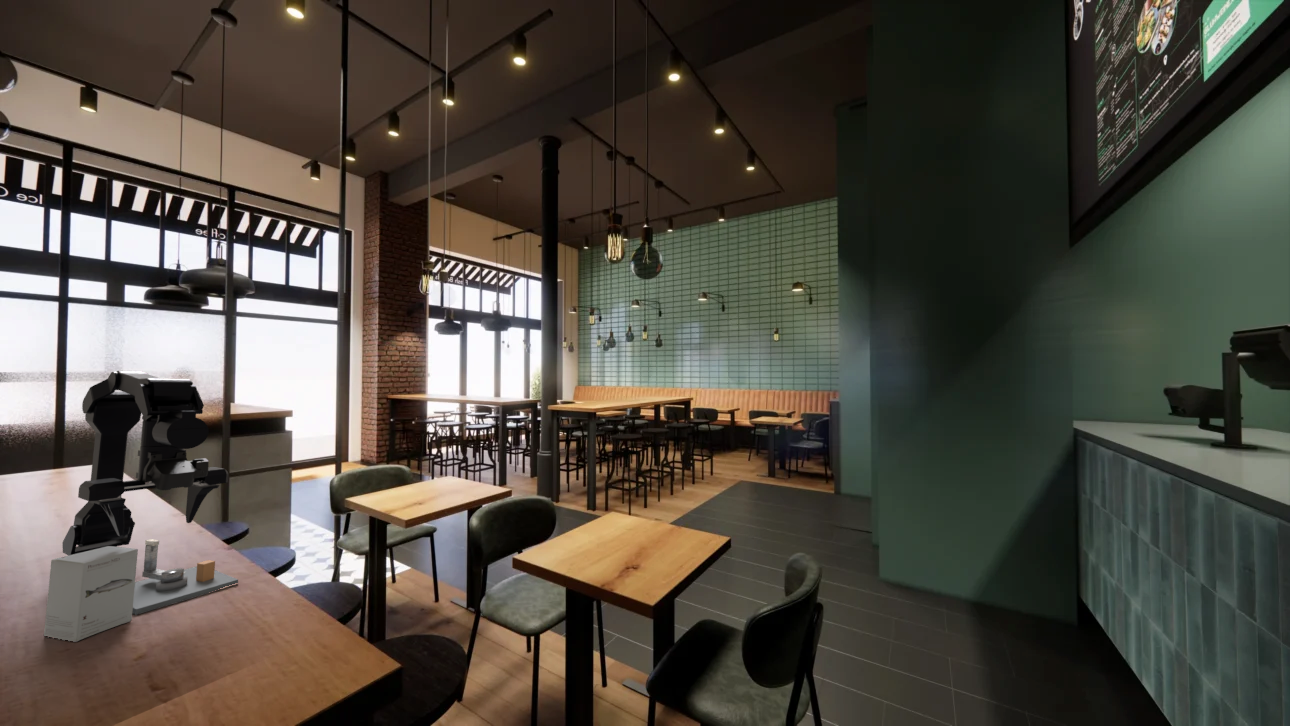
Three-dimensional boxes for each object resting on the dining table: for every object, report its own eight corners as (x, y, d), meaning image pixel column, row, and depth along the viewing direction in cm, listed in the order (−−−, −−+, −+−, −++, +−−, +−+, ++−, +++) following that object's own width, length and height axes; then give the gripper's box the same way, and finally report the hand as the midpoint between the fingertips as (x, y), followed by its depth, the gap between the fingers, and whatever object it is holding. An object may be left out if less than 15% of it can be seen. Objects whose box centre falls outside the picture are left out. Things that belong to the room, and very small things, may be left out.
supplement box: (75, 643, 74) (81, 563, 75) (41, 637, 76) (49, 558, 77) (133, 621, 82) (139, 548, 82) (102, 616, 83) (108, 544, 84)
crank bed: (102, 595, 91) (104, 571, 91) (202, 569, 104) (203, 549, 104) (135, 614, 84) (137, 589, 84) (237, 584, 97) (239, 562, 97)
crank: (187, 578, 94) (190, 543, 95) (167, 584, 91) (170, 548, 92) (155, 571, 97) (158, 537, 97) (135, 577, 94) (137, 542, 94)
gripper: (105, 454, 75) (96, 551, 75) (244, 443, 92) (239, 522, 91) (81, 448, 80) (73, 540, 80) (217, 439, 97) (212, 514, 96)
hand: (156, 528), depth 87 cm, fingers open, 9 cm apart
